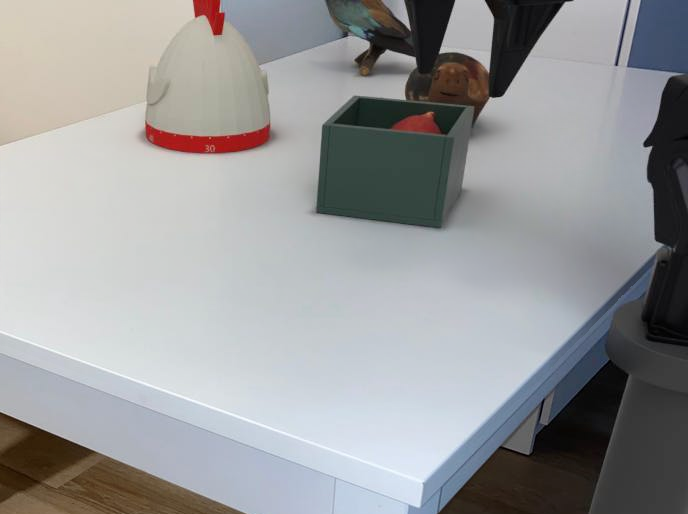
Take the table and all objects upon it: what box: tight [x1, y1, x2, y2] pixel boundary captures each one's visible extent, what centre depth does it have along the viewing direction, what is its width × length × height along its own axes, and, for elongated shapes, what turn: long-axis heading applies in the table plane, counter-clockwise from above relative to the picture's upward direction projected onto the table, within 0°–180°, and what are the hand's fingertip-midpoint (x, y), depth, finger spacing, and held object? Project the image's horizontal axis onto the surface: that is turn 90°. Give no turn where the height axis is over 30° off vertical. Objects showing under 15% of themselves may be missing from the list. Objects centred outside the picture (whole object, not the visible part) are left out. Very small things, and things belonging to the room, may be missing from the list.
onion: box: [390, 112, 441, 134], centre depth 92 cm, size 6×6×8 cm
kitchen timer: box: [144, 0, 271, 154], centre depth 106 cm, size 14×14×15 cm
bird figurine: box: [324, 0, 415, 77], centre depth 134 cm, size 13×10×20 cm
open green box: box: [315, 94, 474, 229], centre depth 91 cm, size 11×11×8 cm
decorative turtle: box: [404, 51, 491, 130], centre depth 112 cm, size 10×15×8 cm, turn 174°
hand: (458, 84), depth 76 cm, fingers open, 9 cm apart
